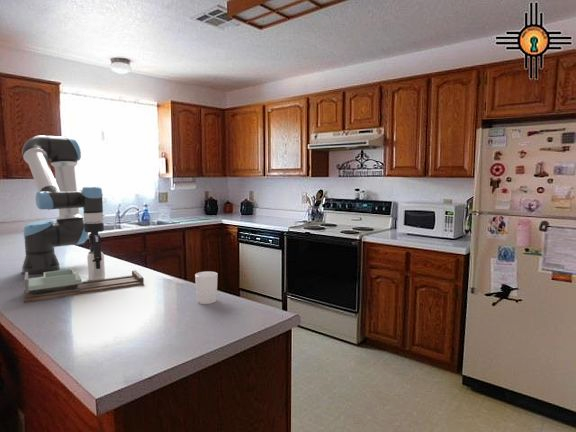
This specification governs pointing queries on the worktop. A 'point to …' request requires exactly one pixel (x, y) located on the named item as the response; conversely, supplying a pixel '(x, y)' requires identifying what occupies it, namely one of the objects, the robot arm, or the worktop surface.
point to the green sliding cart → (52, 280)
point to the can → (91, 267)
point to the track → (87, 287)
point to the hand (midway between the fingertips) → (96, 273)
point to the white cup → (206, 287)
